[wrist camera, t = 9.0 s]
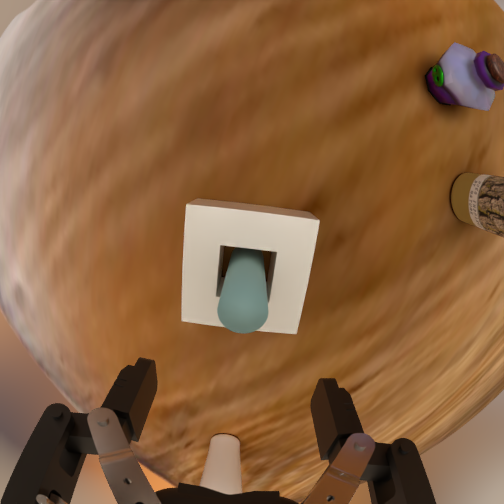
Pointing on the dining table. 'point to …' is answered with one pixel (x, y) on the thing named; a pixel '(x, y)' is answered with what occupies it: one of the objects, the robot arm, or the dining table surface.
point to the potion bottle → (466, 78)
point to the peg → (244, 292)
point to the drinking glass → (223, 465)
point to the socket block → (253, 237)
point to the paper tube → (480, 201)
